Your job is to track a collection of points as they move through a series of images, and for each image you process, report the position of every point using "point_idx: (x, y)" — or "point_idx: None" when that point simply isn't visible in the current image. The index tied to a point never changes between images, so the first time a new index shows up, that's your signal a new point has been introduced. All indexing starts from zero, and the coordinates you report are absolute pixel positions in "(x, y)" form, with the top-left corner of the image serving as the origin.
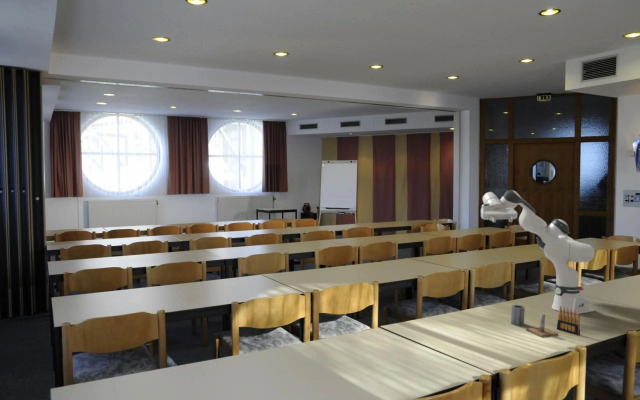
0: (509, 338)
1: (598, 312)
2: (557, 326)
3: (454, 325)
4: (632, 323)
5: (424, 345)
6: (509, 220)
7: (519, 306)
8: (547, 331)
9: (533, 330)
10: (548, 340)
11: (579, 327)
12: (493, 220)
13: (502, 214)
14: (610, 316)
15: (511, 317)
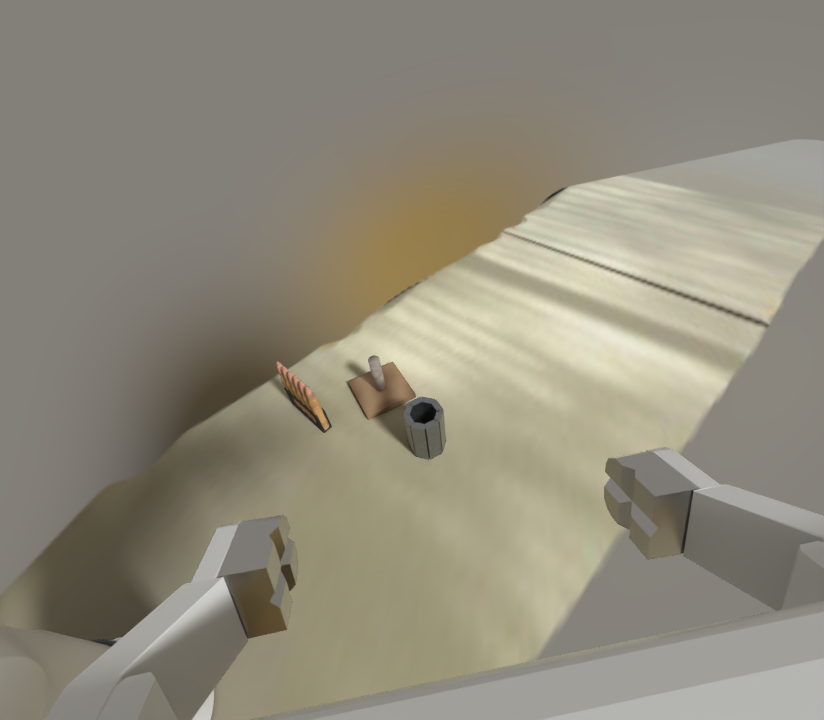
0: (464, 340)
1: None
2: (328, 420)
3: (599, 383)
4: (45, 553)
5: (622, 273)
6: (281, 577)
7: (417, 423)
8: (368, 386)
9: (401, 384)
10: (383, 351)
11: (287, 393)
12: (660, 452)
13: (440, 686)
14: None
15: (444, 431)
